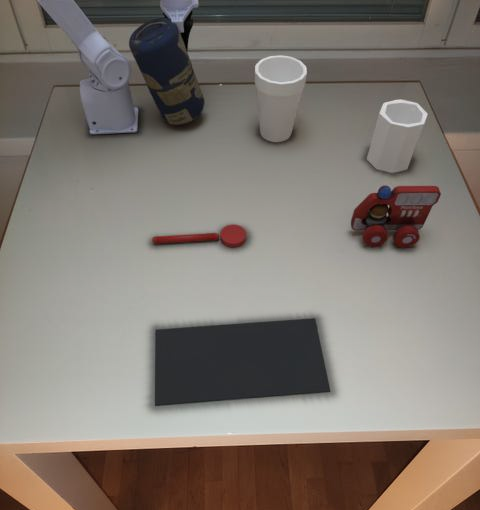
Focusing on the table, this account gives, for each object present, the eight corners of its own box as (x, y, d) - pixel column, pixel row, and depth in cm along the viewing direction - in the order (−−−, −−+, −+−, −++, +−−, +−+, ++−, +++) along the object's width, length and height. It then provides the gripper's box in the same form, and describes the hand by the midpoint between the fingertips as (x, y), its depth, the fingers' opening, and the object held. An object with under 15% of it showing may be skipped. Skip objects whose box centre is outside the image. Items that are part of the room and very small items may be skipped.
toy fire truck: (346, 217, 84) (359, 169, 75) (416, 219, 83) (437, 171, 75) (350, 247, 80) (364, 200, 71) (423, 249, 80) (447, 202, 71)
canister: (207, 121, 94) (174, 30, 80) (163, 134, 96) (122, 47, 81) (205, 93, 100) (173, 2, 85) (163, 105, 101) (124, 19, 86)
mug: (414, 173, 90) (432, 127, 82) (369, 172, 90) (382, 126, 82) (403, 133, 97) (418, 87, 88) (361, 133, 97) (372, 87, 88)
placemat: (155, 405, 64) (154, 404, 64) (155, 330, 70) (155, 329, 70) (330, 391, 65) (330, 390, 65) (314, 319, 72) (315, 318, 72)
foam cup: (247, 142, 95) (249, 79, 84) (258, 115, 100) (261, 52, 89) (294, 150, 93) (301, 87, 83) (302, 122, 98) (311, 59, 87)
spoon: (152, 252, 79) (151, 247, 78) (153, 233, 81) (152, 228, 80) (247, 246, 80) (247, 241, 79) (244, 227, 82) (244, 222, 81)
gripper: (198, -8, 80) (202, 71, 91) (195, -44, 88) (199, 33, 99) (156, -7, 80) (166, 73, 91) (156, -43, 88) (165, 34, 99)
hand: (181, 52), depth 95 cm, fingers closed
